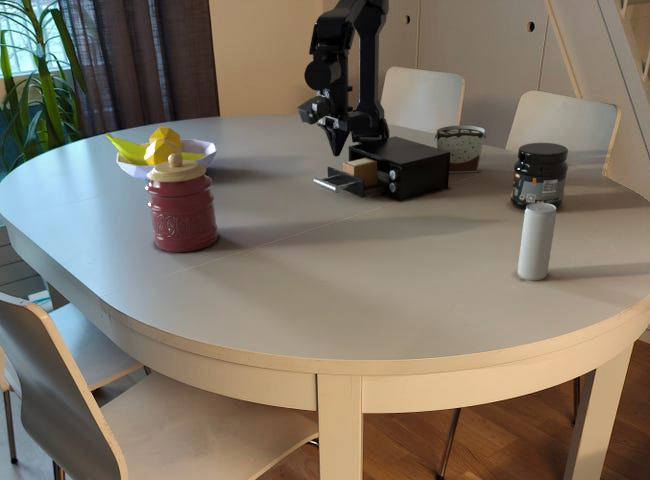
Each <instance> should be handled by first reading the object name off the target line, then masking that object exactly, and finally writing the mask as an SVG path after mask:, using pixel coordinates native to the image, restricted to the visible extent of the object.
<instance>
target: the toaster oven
mask: <svg viewBox="0 0 650 480" xmlns="http://www.w3.org/2000/svg"><path fill="white" fill-rule="evenodd" d="M363 158H368V159H371V160H374V161H377V169H378V170H380V171H383V172H386V173H389V174H390V185H389V191H388V192H384V193H380V194H379V195H383V196H385V197H388V198H390V199H393V200H395V201H398V202H403V201H407V200H410V199H414V198H418V197H422V196H425V195H429V194H433V193H438V192H441V191H445V190H448V189H449V182H450V173H449V168H450V152H448V151H445V150H441V149H438V148H437V147H434V146H430V145H427V144H423V143H420V142H416V141H413V140H409V139H406V138H403V137H400V136H389V138H385V139H381V140H376V141H372V142H367V143H362V144H359V143H358V144H355V145H353V144H352V145H349V146H348V162H350V161H354V160H358V159H363Z"/></svg>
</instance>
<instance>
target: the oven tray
mask: <svg viewBox="0 0 650 480" xmlns="http://www.w3.org/2000/svg"><path fill="white" fill-rule="evenodd" d="M312 182H313V183H314V185H318V186H320V187H322V188H325V189H327V190H329V191H331V192H334V193H336V194H337V193H340V191H341V190H342V191H345V192H348V193H350V194H353V195H354V196H357V197H359V198H362V199H365V198H369V197H371V196H372V197H373V196H376V195H381V194H380V193H384V192H388V191H389V185H390V174H389V173H386V172H383V171H380V170H378V169H377V184H374V185H370V186H366V187H364V180H363V179H360V178H358V177H355V176H353V175H350V174H347V173H345V172H343V170H339V169H337V168H335V167H332V166H327V177H323V178H319V177H314V178H313V181H312Z"/></svg>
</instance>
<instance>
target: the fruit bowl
mask: <svg viewBox="0 0 650 480" xmlns="http://www.w3.org/2000/svg"><path fill="white" fill-rule="evenodd" d="M105 137H106V138H108V140H110V142H111V144H112V145H113V146H114V147H115V148H116V149H117V150H118V151H119V152H117V153H116V163H117V164H118V166H119V167H120V168H121V170H123V171H124V172H126V173H127V174H128V175H130V176H131V177H132V178H137V179H142V180H148V181H151V179H149V178H148V173H149V172H150V171H151V170H153V169H154V167H155V166H157V165H158V164H161V163H164V162H168V161H169V156H170V155H171V154H174V153H177V154H179V155H180V156H181V157H182V160H192V161H195V162H197V163H198V164H200V165H202V166H204V167H205V168H206V169H207V168H208V167H210V165H211V163H213V161H214V158H215V157H216V155H217V153H218V149H217V146H216V144H215V143H214V142H210V141H205V140H199V139H194V138H192V139H191V138H189V139H182V138H181V135H180V133H178V132H176V131H175V130H174V129H173V128H171V127H168V126H164V125H163V126H162V125H159V127H158V128H157V129H156V130H155V131H154V132H153V133H152V134H151V135H150V136H149V137H148V139H149V142H147V143H141V144H139V143H135V142H132V141H129V140H127V139H123V138H119V137H116V136H113V135H112V134H110V133H109V132H106V133H105Z"/></svg>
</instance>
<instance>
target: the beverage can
mask: <svg viewBox="0 0 650 480" xmlns="http://www.w3.org/2000/svg"><path fill="white" fill-rule="evenodd" d="M523 218H524V219H523V224H522V232H521V239H520V240H521V241H520V248H519V249H520V250H519V255H518V256H519V257H518V263H517V265H518V266H517V274H518V276H519V277H520V278H521V279H523V280H526V281H541V280H543V279H544V278H546V276H547V275H548V272H549V264H550V259H551V251H552V246H553V238H554V231H555V227H556V219H557V209H556V207H555V206H554V205H552V204H548V203H532V204H529V205H527V207H526V210H525V211H524V216H523Z"/></svg>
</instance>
